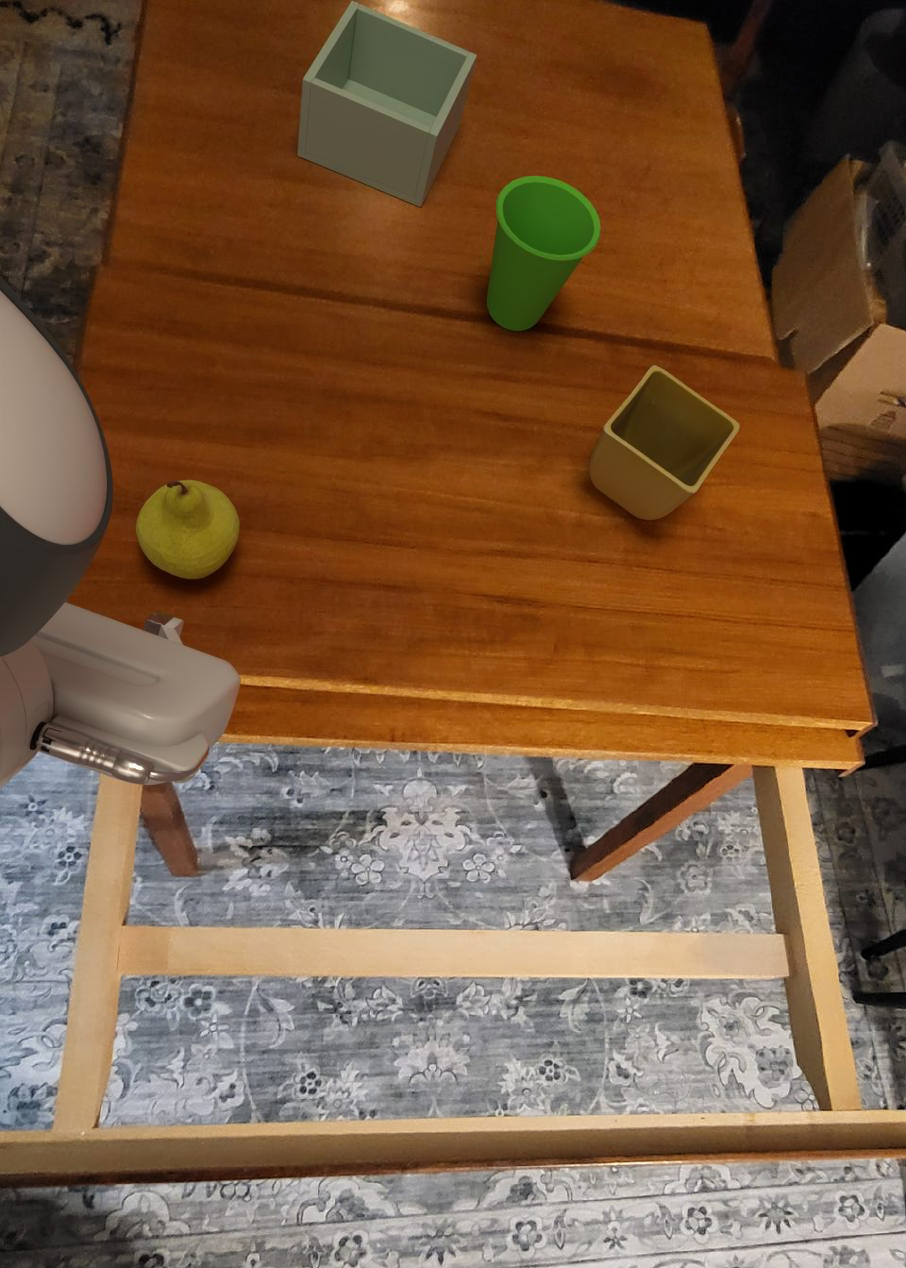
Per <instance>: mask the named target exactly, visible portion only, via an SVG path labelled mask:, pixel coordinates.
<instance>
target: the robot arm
mask: <svg viewBox="0 0 906 1268" xmlns="http://www.w3.org/2000/svg"><path fill="white" fill-rule="evenodd" d="M110 458H111V457H110V454H109V449H108V445H107V442H106V438H105V435H104V431H103V428H102V426H101V423H100V420H99V418H98V413H97V412H96V410H95V407H94V404H93V403H92V400H91V398H90V396H89V394H88V392H87V390H86V388H85V386H84V384H83V382H82V381H81V378H80V377H79V375H78V373H77V372H76V370H75V369H74V366H73V365H72V364H71V362H70V360H69V359H68V357H67V355H66V354H65V353H64V351H63V350H62V348H61V347H60V346H59V344H58V343H57V341H56V340H55V339H54V338H53V336H52V334H50V332H49V331H48V329H47V328H46V327H45V326H44V324H43V322H41V321H40V319H39V318H38V317H37V316H36V314H35V313H34V312H33V311H32V310H31V309H30V308H29V306H28V305H27V304H26V303H25V302H24V301H23V299H21V297H20V296H19V295H18V294H17V293H16V292H15V290H14V289H13V288H12V286H10V285H9V284H8V283H7V282H6V281H5V279H4V278H3V277H2V276H1V275H0V790H1V789H2V788H3V787H4V786H6V784H8V783H9V782H10V781H11V780H12V779H13V778H14V777H15V776H16V775H18V773H20V772H21V771H22V770H23V769H24V768H25V767H26V766H27V765H28V764H29V763H30V762H31V761H32V760H33V759H34V758H35V757H36V756H37V754H38V753H42V754H45V755H48V756H49V757H53V758H56V759H58V760H62V761H64V762H67V763H70V764H73V765H75V766H79V767H81V768H84V769H87V770H89V771H92V772H95V773H98V774H101V775H104V776H106V777H109V778H113V779H116V780H118V781H122V782H126V783H130V784H133V785H141V786H155V785H160V784H165V783H176V784H185V783H187V782H189V781H191V780H192V779H193V778H194V777H195V775H196V774H197V773H198V772H199V771H200V769H201V768H202V766H204V763H205V762H206V760H207V759H208V758H209V754H210V750H211V749H212V748H213V747H214V746H215V745H216V744H217V743H218V742H219V740H220V739H221V738H222V736H223V735H224V734H225V731H226V729H227V727H228V724H229V722H230V719H231V717H232V714H233V711H234V708H235V705H236V702H237V700H238V699H237V698H238V695H239V691H240V688H241V684H242V683H241V682H242V679H241V676H240V675H239V673H238V671H237V670H236V669H235V667H234V666H233V665H232V664H231V663H230V662H229V661H227V660H225V659H223V658H220V657H217V656H214V655H211V654H208V653H207V652H204V651H201V650H198V649H195V648H193V647H190V646H187V645H184V643H183V641H182V639H181V634H182V631H183V626H184V620H183V619H181V618H178V617H175V616H174V615H170V614H167V613H164V612H161V611H158V610H156V611H154V612H153V614H151V615H150V616H147V618H146V620H145V623H144V625H143V629H141V628H138V627H135V626H133V625H129V624H127V623H124V622H121V621H118V620H116V619H113V618H110V617H107V616H105V615H102V614H100V613H96V612H94V611H91V610H89V609H86V608H83V607H80V606H78V605H75V604H72V603H70V602H67V601H68V600H69V598H70V597H71V595H72V594H73V592H74V591H75V590H76V588H77V586H78V585H79V583H80V582H81V580H82V579H83V578H84V576H85V574H86V572H87V570H88V569H89V567H90V565H91V563H92V562H93V560H94V559H95V556H96V554H97V552H98V550H99V548H100V545H101V544H102V541H103V538H104V537H105V533H106V531H107V528H108V527H109V522H110V519H111V515H112V511H113V502H114V480H113V471H112V464H111V459H110Z"/></svg>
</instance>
